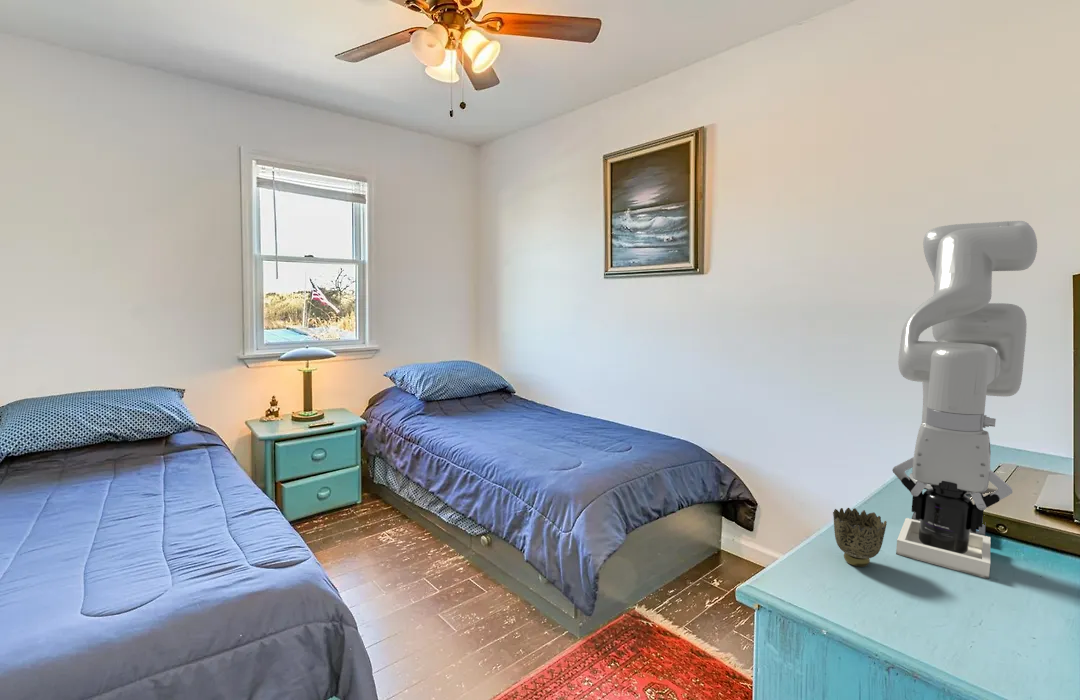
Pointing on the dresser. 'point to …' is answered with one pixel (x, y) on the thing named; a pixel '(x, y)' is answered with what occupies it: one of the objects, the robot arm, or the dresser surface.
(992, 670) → the dresser surface
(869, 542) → the olive rounded textured piece
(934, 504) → the supplement bottle
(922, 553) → the white square tray
